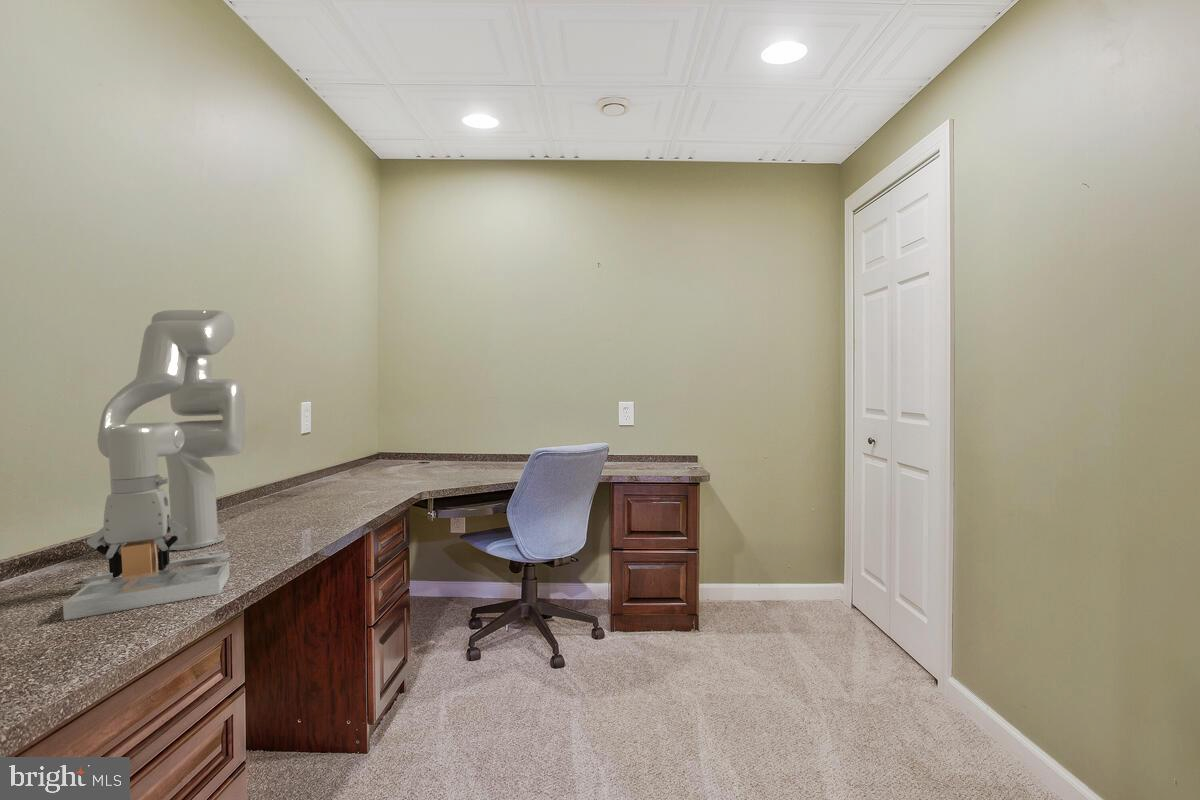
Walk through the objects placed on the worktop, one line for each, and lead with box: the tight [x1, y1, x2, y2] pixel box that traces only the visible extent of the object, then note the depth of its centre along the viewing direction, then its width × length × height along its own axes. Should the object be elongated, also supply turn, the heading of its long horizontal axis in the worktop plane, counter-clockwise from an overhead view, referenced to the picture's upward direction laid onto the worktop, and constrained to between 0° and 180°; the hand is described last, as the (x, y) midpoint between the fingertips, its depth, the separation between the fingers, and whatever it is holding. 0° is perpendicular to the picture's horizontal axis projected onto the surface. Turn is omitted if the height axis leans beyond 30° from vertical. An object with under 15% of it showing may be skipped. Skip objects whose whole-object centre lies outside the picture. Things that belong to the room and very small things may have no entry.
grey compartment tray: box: [62, 560, 231, 622], centre depth 102 cm, size 12×22×3 cm, turn 117°
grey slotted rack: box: [81, 549, 231, 584], centre depth 120 cm, size 25×6×2 cm, turn 121°
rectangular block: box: [120, 540, 159, 577], centre depth 111 cm, size 4×4×8 cm
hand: (140, 571), depth 111 cm, fingers open, 6 cm apart
